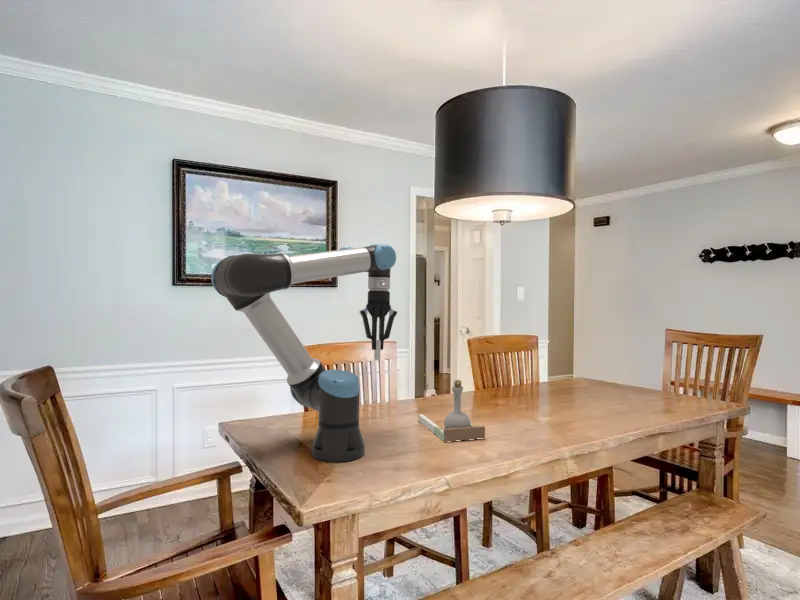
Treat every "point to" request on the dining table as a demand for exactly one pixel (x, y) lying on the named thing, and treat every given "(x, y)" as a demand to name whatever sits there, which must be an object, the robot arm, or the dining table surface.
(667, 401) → the dining table surface
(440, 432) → the slot track
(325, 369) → the robot arm
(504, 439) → the dining table surface
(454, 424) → the potion bottle
